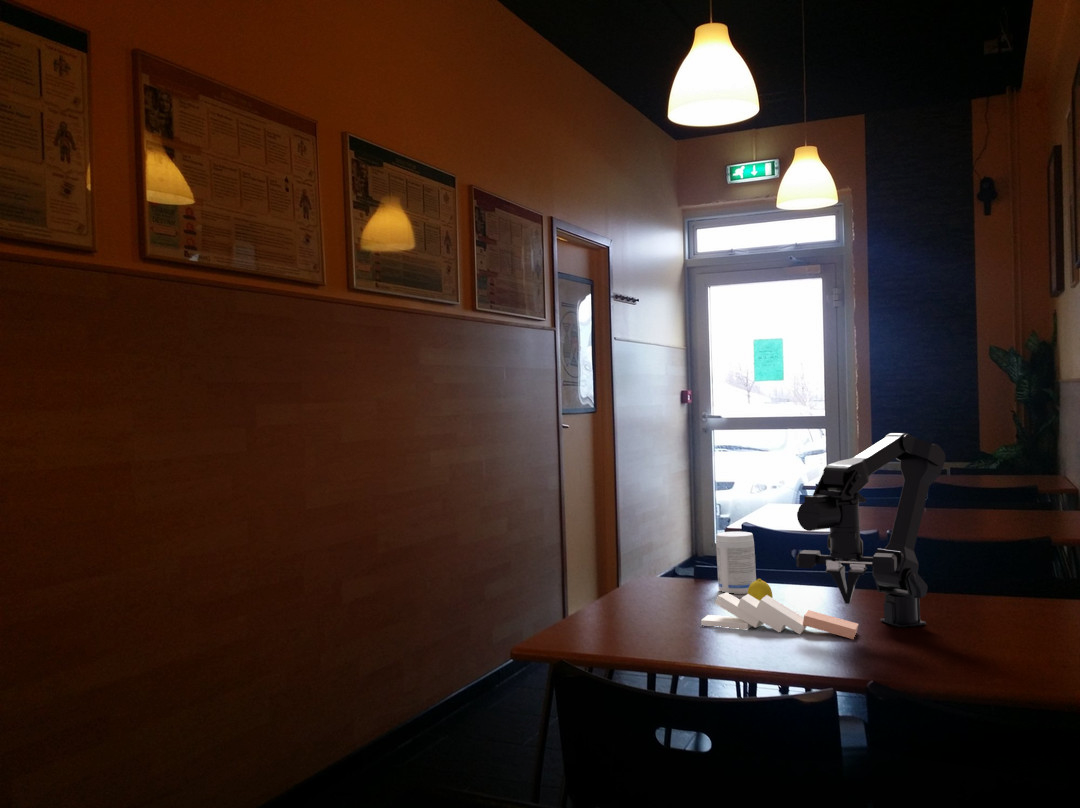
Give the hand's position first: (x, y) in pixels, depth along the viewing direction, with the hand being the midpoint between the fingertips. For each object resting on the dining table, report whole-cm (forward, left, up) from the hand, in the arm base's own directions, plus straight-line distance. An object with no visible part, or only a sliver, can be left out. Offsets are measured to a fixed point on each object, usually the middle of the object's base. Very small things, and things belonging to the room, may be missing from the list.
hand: (847, 603), depth 174 cm
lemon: (+6, -23, -7) cm, 25 cm away
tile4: (+12, -13, -5) cm, 18 cm away
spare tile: (-1, +1, -6) cm, 6 cm away
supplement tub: (-2, -47, -7) cm, 48 cm away
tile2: (+6, -6, -6) cm, 10 cm away
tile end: (+14, -14, -6) cm, 21 cm away
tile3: (+9, -9, -6) cm, 14 cm away
